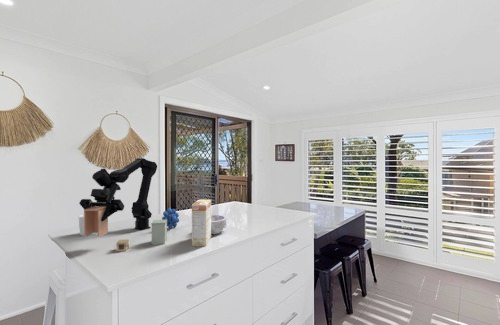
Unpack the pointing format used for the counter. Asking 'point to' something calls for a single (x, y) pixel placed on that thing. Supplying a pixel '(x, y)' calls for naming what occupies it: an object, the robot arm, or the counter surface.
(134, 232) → the counter surface
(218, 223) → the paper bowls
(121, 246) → the maple cube
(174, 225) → the grapes
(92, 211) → the terracotta cover
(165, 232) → the sage canister
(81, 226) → the white cup
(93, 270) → the counter surface
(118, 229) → the counter surface
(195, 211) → the coffeecake box
